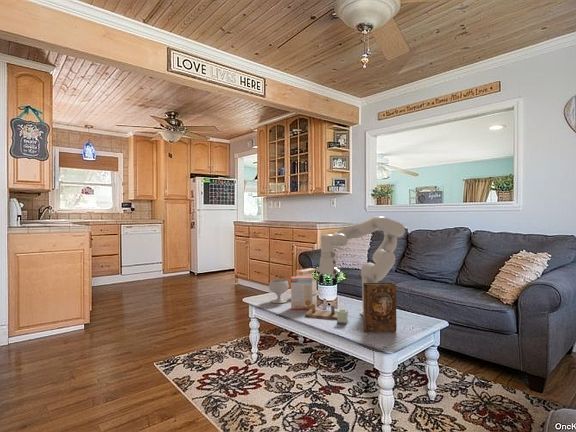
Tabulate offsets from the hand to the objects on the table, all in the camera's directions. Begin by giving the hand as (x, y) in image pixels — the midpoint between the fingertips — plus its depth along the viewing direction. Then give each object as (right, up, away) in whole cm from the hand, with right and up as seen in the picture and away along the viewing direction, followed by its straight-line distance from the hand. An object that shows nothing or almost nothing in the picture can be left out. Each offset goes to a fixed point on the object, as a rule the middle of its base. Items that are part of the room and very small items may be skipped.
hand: (328, 283), depth 209 cm
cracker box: (-15, -21, +22) cm, 33 cm away
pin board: (-2, -21, +6) cm, 21 cm away
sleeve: (+7, -21, -9) cm, 24 cm away
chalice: (-30, -21, +40) cm, 54 cm away
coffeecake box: (-10, -20, +59) cm, 63 cm away
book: (+25, -21, -23) cm, 40 cm away
